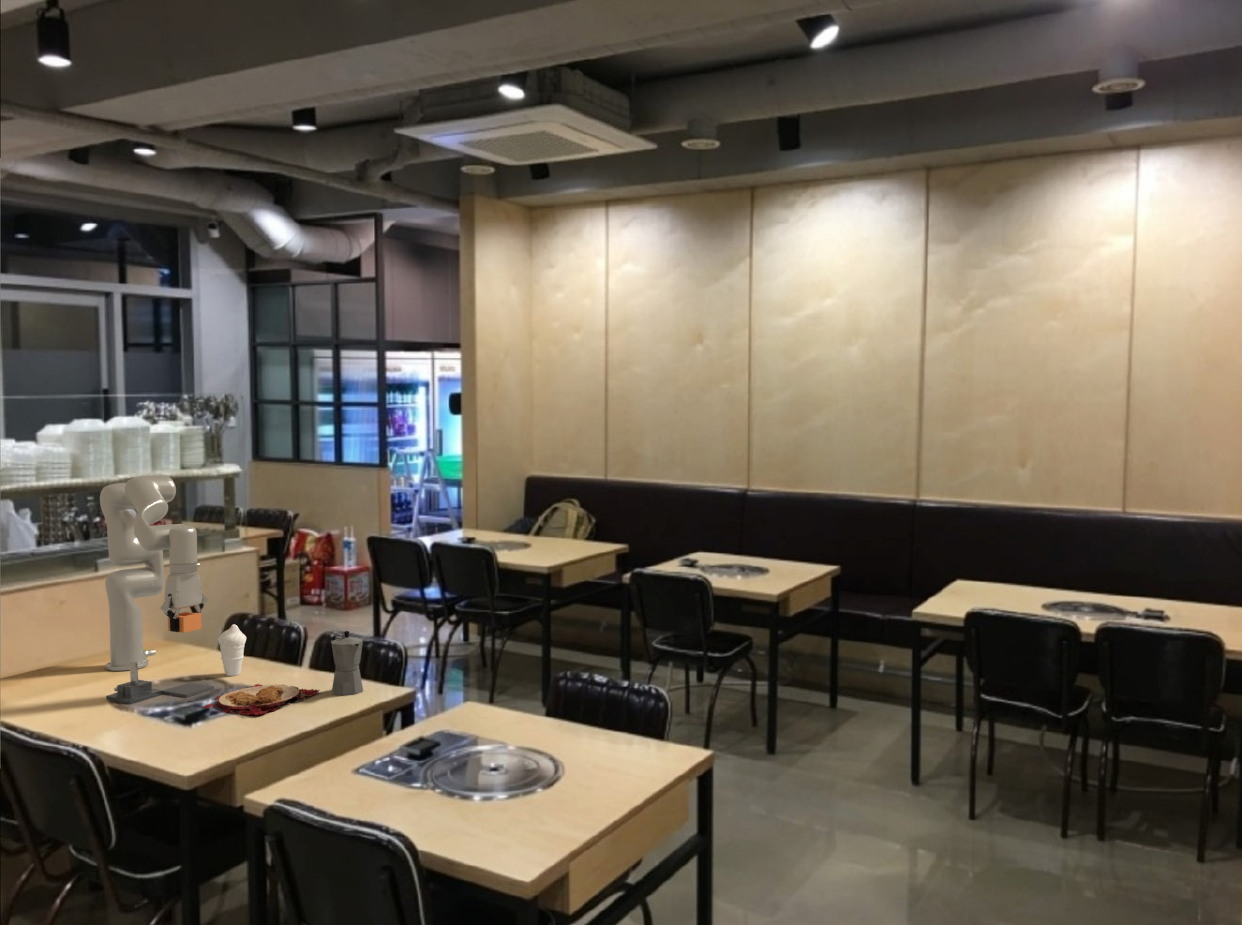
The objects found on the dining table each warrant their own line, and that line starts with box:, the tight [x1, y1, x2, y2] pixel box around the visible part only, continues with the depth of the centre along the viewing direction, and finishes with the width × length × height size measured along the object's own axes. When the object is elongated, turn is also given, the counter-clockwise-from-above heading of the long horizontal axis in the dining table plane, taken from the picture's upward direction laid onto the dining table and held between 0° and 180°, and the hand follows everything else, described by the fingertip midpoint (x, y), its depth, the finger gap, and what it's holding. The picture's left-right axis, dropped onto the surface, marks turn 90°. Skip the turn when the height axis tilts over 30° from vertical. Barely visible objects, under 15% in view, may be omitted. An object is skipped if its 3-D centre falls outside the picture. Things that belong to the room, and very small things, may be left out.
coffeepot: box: [330, 630, 364, 696], centre depth 296 cm, size 15×9×18 cm, turn 44°
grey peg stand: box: [105, 662, 164, 705], centre depth 289 cm, size 11×10×10 cm
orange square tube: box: [167, 611, 203, 634], centre depth 295 cm, size 6×6×4 cm
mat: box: [163, 682, 215, 698], centre depth 296 cm, size 10×10×1 cm
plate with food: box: [201, 683, 320, 716], centre depth 286 cm, size 24×26×4 cm
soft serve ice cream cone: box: [217, 624, 247, 677], centre depth 315 cm, size 8×8×16 cm
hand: (184, 628), depth 295 cm, fingers closed on orange square tube, 6 cm apart
